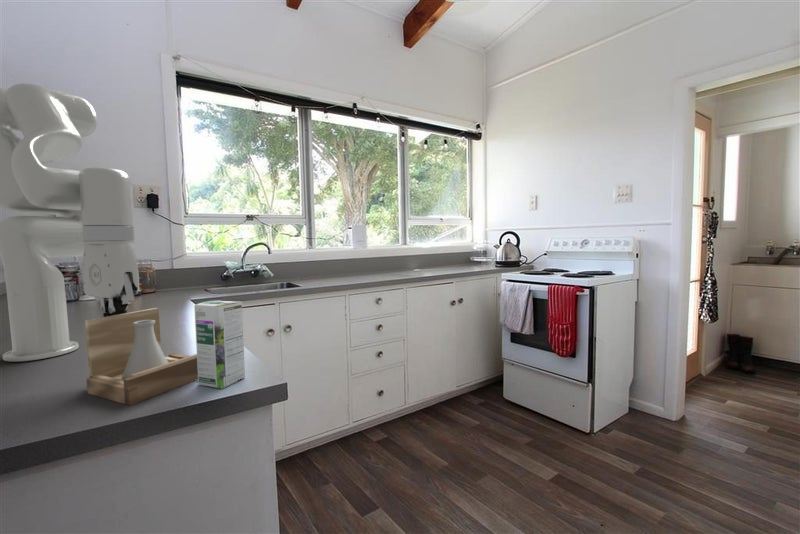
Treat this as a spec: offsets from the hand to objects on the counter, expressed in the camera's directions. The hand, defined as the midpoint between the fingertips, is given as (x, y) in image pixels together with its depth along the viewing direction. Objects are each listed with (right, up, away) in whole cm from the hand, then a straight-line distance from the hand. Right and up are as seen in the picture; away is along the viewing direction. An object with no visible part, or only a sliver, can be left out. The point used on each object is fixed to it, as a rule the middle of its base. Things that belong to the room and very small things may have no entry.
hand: (116, 331), depth 71 cm
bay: (+10, -8, -4) cm, 14 cm away
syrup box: (+22, -9, -4) cm, 24 cm away
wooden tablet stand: (+8, -8, -3) cm, 12 cm away
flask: (+8, -8, -3) cm, 11 cm away
